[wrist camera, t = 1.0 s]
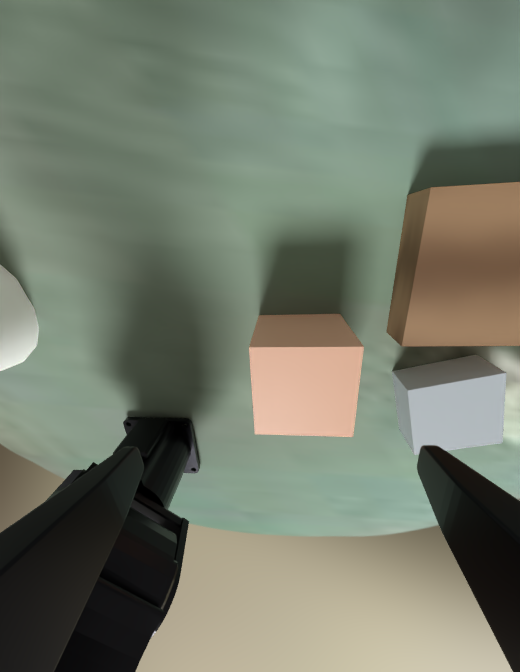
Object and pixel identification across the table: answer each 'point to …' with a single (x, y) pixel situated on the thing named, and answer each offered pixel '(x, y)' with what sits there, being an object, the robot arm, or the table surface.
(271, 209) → the table surface
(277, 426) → the terracotta block
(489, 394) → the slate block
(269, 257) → the table surface
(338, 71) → the table surface
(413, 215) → the walnut block
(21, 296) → the teardrop
